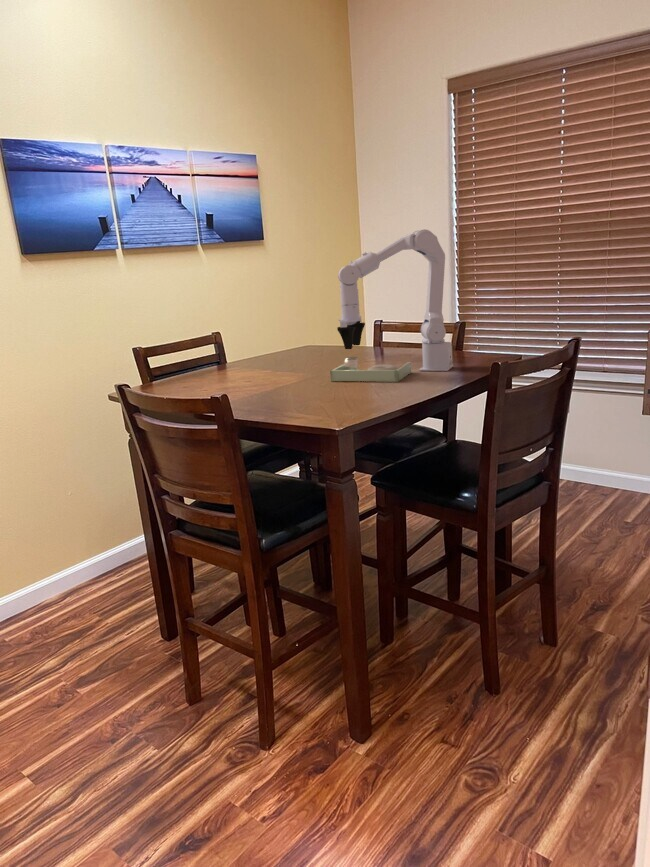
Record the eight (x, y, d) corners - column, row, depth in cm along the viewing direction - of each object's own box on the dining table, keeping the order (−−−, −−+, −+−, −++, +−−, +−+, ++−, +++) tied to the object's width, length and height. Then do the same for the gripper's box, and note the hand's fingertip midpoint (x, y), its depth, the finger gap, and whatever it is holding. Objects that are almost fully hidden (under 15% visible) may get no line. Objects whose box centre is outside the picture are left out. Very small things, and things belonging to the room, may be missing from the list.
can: (360, 374, 213) (359, 356, 211) (356, 376, 209) (355, 358, 207) (347, 374, 214) (346, 356, 213) (342, 376, 210) (341, 359, 209)
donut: (365, 375, 210) (370, 380, 200) (364, 365, 209) (370, 369, 199) (395, 373, 211) (402, 378, 201) (395, 362, 210) (402, 367, 200)
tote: (411, 372, 210) (410, 362, 209) (398, 382, 197) (397, 370, 196) (347, 372, 219) (346, 362, 218) (331, 381, 206) (330, 370, 205)
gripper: (346, 302, 214) (348, 343, 218) (330, 307, 202) (333, 350, 205) (366, 301, 212) (368, 343, 215) (351, 306, 199) (354, 350, 203)
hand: (352, 347), depth 210 cm, fingers open, 7 cm apart
